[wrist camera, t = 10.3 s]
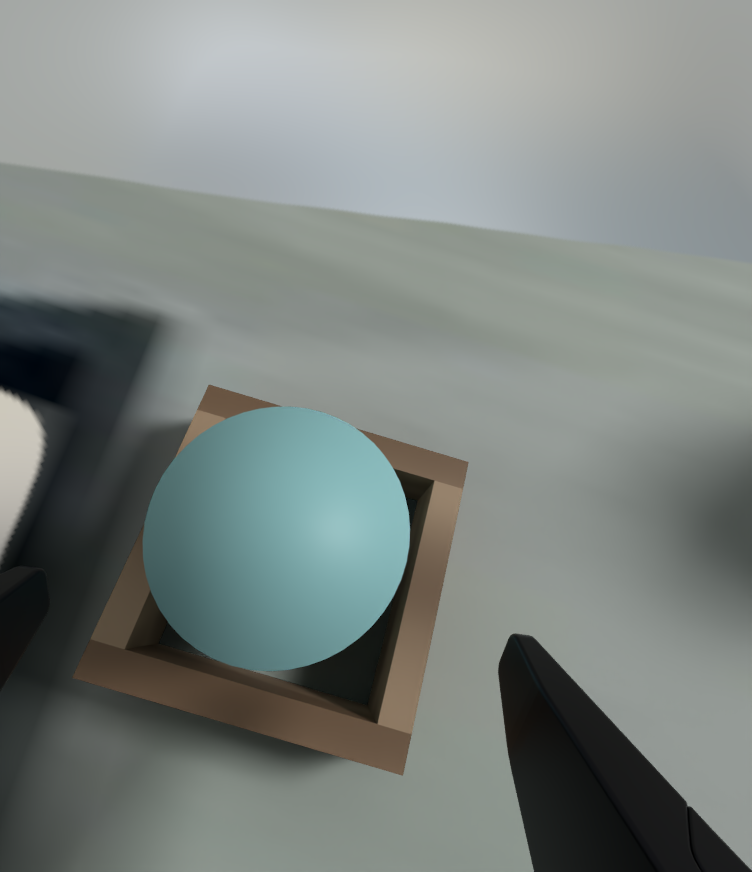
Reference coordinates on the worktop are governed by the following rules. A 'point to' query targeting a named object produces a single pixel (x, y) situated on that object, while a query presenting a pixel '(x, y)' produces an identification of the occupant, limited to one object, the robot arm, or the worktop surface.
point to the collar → (270, 697)
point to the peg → (276, 538)
